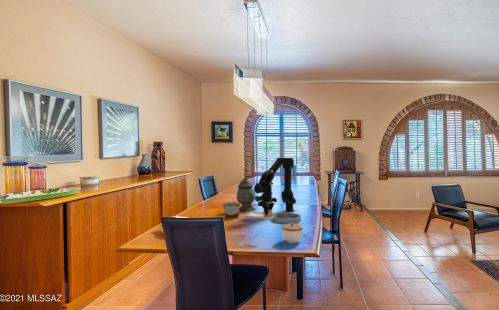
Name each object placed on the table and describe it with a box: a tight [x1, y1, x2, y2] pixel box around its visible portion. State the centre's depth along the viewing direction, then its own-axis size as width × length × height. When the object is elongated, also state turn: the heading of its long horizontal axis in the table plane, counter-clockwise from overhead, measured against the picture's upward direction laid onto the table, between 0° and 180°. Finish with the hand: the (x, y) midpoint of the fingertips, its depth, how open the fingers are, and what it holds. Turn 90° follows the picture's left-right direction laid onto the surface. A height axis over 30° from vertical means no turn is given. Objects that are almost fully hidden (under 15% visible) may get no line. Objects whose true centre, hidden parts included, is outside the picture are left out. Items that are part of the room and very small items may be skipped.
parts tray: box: [244, 211, 277, 221], centre depth 210 cm, size 13×19×2 cm
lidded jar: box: [281, 223, 304, 244], centre depth 155 cm, size 11×11×9 cm
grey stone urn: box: [236, 177, 257, 212], centre depth 233 cm, size 14×14×25 cm
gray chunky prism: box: [277, 211, 288, 219], centre depth 200 cm, size 4×4×4 cm
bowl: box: [272, 212, 302, 224], centre depth 198 cm, size 18×18×3 cm
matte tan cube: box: [263, 209, 273, 218], centre depth 208 cm, size 4×4×4 cm
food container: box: [222, 201, 241, 219], centre depth 211 cm, size 12×6×10 cm, turn 84°
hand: (267, 214), depth 208 cm, fingers closed on matte tan cube, 4 cm apart
